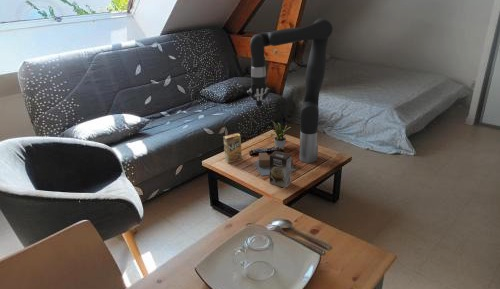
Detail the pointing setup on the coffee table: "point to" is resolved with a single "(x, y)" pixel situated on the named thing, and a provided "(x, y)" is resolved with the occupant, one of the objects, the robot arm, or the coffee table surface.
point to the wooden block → (266, 160)
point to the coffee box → (280, 168)
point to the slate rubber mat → (266, 169)
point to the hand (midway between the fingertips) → (258, 106)
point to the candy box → (232, 147)
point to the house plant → (279, 136)
